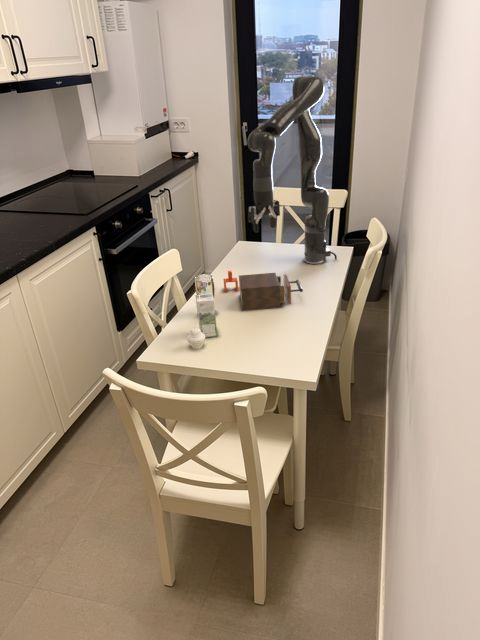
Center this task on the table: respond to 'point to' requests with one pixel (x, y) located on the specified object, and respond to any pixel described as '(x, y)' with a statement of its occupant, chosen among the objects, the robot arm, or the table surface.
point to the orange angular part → (230, 280)
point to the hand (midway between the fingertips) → (264, 229)
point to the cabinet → (259, 291)
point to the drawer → (287, 288)
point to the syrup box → (206, 314)
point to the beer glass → (205, 285)
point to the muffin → (196, 338)
